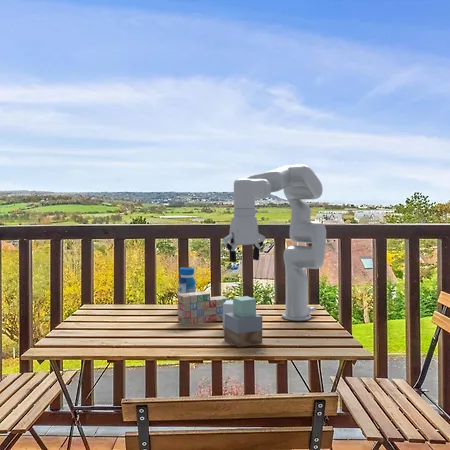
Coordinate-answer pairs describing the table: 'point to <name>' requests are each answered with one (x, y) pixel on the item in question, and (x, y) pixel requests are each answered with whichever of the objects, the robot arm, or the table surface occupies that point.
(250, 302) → the green cube
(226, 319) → the grey block
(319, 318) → the table surface
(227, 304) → the small box
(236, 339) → the walnut block
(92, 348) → the table surface
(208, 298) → the stack of blocks
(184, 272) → the beverage bottle
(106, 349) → the table surface
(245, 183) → the robot arm
